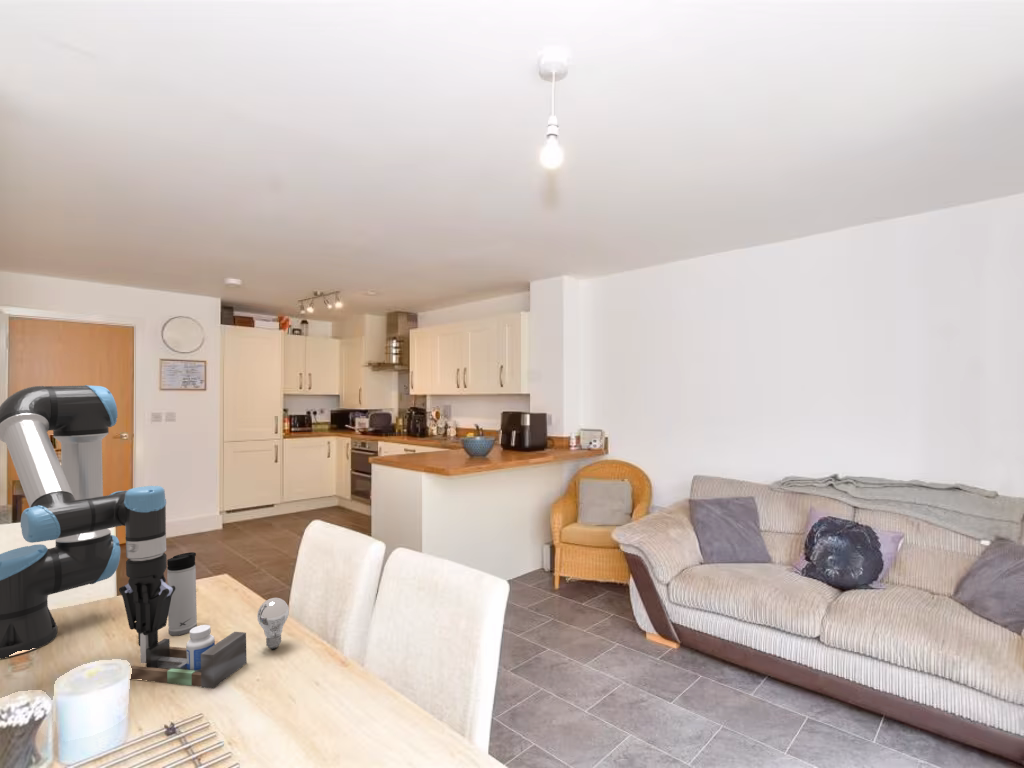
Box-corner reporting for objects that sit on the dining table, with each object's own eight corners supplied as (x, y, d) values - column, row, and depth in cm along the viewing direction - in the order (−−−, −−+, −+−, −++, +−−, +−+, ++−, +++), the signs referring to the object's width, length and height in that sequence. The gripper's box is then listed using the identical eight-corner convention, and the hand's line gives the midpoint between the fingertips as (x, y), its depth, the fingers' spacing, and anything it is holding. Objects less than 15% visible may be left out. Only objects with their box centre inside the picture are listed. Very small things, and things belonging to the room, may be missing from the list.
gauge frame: (121, 679, 113) (121, 647, 113) (160, 655, 123) (160, 625, 123) (213, 688, 109) (213, 655, 109) (246, 663, 119) (246, 632, 119)
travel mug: (188, 635, 132) (186, 557, 132) (162, 636, 133) (161, 558, 133) (203, 624, 139) (201, 549, 139) (179, 624, 139) (177, 550, 139)
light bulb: (280, 638, 130) (280, 590, 130) (295, 646, 126) (294, 597, 126) (252, 649, 125) (251, 599, 125) (266, 659, 120) (265, 607, 120)
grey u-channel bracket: (144, 673, 114) (143, 650, 114) (167, 658, 120) (166, 637, 120) (180, 676, 113) (179, 653, 113) (201, 662, 118) (201, 640, 118)
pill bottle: (221, 666, 117) (220, 623, 117) (204, 680, 112) (203, 635, 112) (198, 665, 118) (198, 622, 118) (181, 678, 113) (180, 634, 113)
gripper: (106, 560, 115) (108, 666, 115) (156, 562, 113) (158, 671, 112) (137, 549, 122) (139, 649, 122) (184, 551, 120) (186, 653, 120)
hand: (148, 659), depth 117 cm, fingers closed
